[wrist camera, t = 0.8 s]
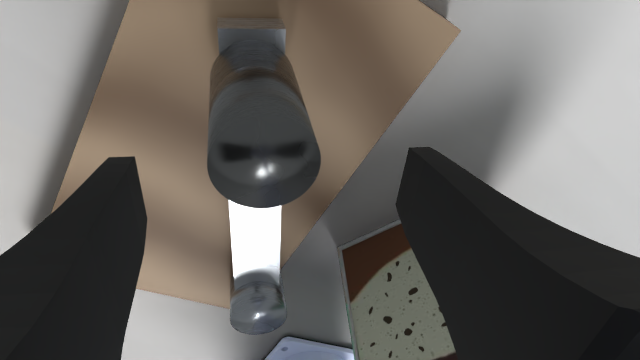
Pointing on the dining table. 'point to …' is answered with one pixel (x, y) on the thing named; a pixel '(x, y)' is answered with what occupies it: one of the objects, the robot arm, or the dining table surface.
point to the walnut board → (193, 113)
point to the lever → (257, 160)
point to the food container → (391, 300)
